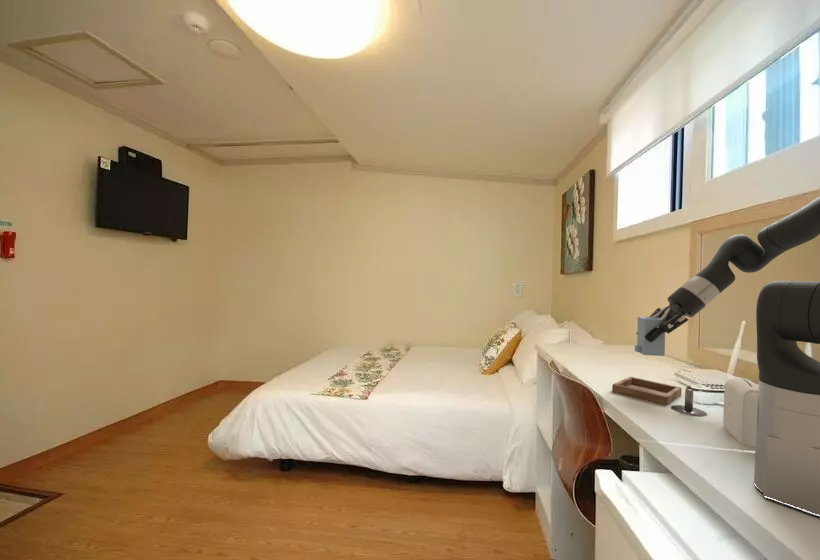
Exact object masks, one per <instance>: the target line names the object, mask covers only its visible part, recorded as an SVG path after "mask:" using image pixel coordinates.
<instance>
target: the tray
mask: <svg viewBox="0 0 820 560" xmlns="http://www.w3.org/2000/svg"><path fill="white" fill-rule="evenodd" d="M682 391H683V390H682V387H681V386H676V385H671V384H666V383H662V382H657V381H653V380H648V379H643V378H639V377H634V376H629V377H626V378H624V379H621V380H619V381H617V382H615V383H612V393H614V394H619V395H622V396H626V397H630V398H635V399H637V400H638V399H639V400H642V401H646V402H651V403H654V404H658V405H663V406H666V407H667V406H668V405H670V404H671V403H672V402H674V401H675V400H677V399H678V398H680V397H681V396H682Z"/></svg>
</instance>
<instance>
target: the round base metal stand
mask: <svg viewBox="0 0 820 560" xmlns="http://www.w3.org/2000/svg"><path fill="white" fill-rule="evenodd" d="M684 392H685V393H684V405H681V404H673V405H670V409H671V410H672V411H674V412H677V413H679V414H683V415H686V416H691V417H706V416H708V413H707V412H706V411H704V410H702V409H700V408H696V407H693V406H694V389H692V388H684Z"/></svg>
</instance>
